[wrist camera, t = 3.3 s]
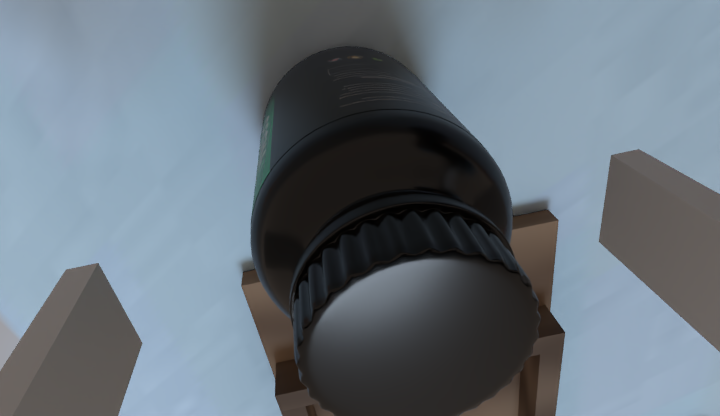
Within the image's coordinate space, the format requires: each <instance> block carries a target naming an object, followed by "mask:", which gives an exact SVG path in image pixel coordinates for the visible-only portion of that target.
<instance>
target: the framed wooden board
mask: <svg viewBox="0 0 720 416" xmlns="http://www.w3.org/2000/svg"><path fill="white" fill-rule="evenodd" d="M557 230H558V219H557V218H556V217H555V216H554V215H553V214H552V213H551V212H550V211H549V210H544V211H539V212H534V213H529V214H524V215H520V216H515V217H513V227H512V236H511V242H510V246H511V248H512V251H513V253H514V256H515V259H516V261H517V262H518V263H519V265H520V266H521V268H522V269H523V270H524V272H525V273H526V274H527V276H528V277H529V279H530V281H531V284H532V289H533V291H534V292H535V294H536V295H537V298H538V301H539V305H538V312H539V314H540V317H541V321H540V324H539V326H538V328H537V330H538V333H539V337H538V339H537V340H536V342H535V343H534V345H533V354H532V355H531V356H530V357H529V358H528V359H527V360H526V361H525V363H524V367H523V369H522V370H521V371H520V372H519V373H518V374H516V375H515V376H514V377H513V379H512V381H511V383H510V384H509V385H507V386H506V387H504V388H502V389H501V390H499V392H498V393H497V394H496V395H495V396H494V397H493V398H491V399H489V400H486V401H484V402H483V403H481V404H480V405H479V406H478V407H477V408H475V409H472V410H469V411H466V412H464V413H462V414H461V415H459V416H555V413H556V405H557V396H558V388H559V380H560V371H561V363H562V354H563V346H564V337H565V332H564V330H563V329H562V328H561V326H560V325H559V323H558V322H557V321H556V319H555V318H554V316H553V315H552V314H551V312H550V307H551V296H552V285H553V274H554V263H555V252H556V241H557ZM241 286H242V289H243V292H244V294H245V297H246V300H247V303H248V305H249V308H250V311H251V314H252V316H253V319H254V322H255V324H256V327H257V330H258V333H259V335H260V338H261V341H262V344H263V346H264V349H265V352H266V355H267V357H268V360H269V363H270V366H271V368H272V371H273V374H274V376H275V397H276V399H277V402H278V405H279V407H280V410H281V413H282V415H283V416H334V415H333V413H332V412H329V411H326V410H324V409H321V407H320V405H319V402H318V401H316V400H314V399H313V398H311V397H310V396H309V394H308V390H307V387H306V386H305V385H303V384H302V383H301V381H300V378H299V372H298V367H297V365H296V363H295V359H294V334H293V327H292V323H291V319H289V318H288V317H287V316H286V315H285V314H284V313H283V312H282V311H281V310H280V309H279V308H278V307H277V306H276V305H275V303H274V302H273V301H272V300H271V298H270V297H269V295H268V294H267V292H266V291H265V289H264V288H263V286H262V284H261V282H260V280H259V278H258V275H257V272H256V270H252V271H247V272H243V277H242V285H241Z"/></svg>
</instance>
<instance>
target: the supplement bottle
mask: <svg viewBox="0 0 720 416" xmlns="http://www.w3.org/2000/svg"><path fill="white" fill-rule="evenodd" d="M512 227H513V212H512V202H511V197H510V193H509V189H508V187H507V184H506V181H505V178H504V176H503V174H502V172H501V170H500V168H499V167H498V165H497V164H496V162H495V161H494V159H493V158H492V156H491V155H490V154H489V152H488V151H487V150H486V149H485V148H484V147H483V145H482V144H481V143H480V142H479V141H478V140H477V139H476V138H475V137H474V136H473V135H472V134H471V133H470V131H469V130H468V129H467V128H466V127H465V126H464V125H463V124H462V123H461V122H460V121H459V120H458V119H457V118H456V117H455V116H454V115H453V114H452V113H451V112H450V111H449V110H448V109H447V108H446V107H445V106H444V105H443V104H442V103H441V102H440V101H439V100H438V98H437V97H436V96H435V95H434V94H433V93H432V92H431V91H430V90H429V89H428V88H427V87H426V86H425V85H424V84H423V83H422V82H421V81H420V80H419V79H418V78H417V77H416V76H415V75H414V74H413V73H412V72H411V71H409V70H408V69H407V68H406V67H405V66H404V65H403V64H401V63H400V62H399V61H397V60H395V59H394V58H392V57H390V56H388V55H386V54H384V53H382V52H379V51H376V50H373V49H368V48H363V47H337V48H332V49H328V50H324V51H321V52H318V53H316V54H314V55H311V56H310V57H308V58H306V59H304V60H303V61H301V62H300V63H298V64H297V65H295V66H294V67H293V68H292V69H291V70H290V71H289V72H288V73H287V74H286V75H285V76H284V77H283V78H282V79H281V81H280V82H279V83H278V85H277V86H276V88H275V89H274V91H273V93H272V95H271V97H270V99H269V102H268V104H267V107H266V111H265V115H264V119H263V125H262V132H261V140H260V149H259V157H258V166H257V174H256V183H255V191H254V200H253V209H252V217H251V251H252V258H253V262H254V266H255V269H256V272H257V275H258V278H259V280H260V282H261V284H262V286H263V288H264V289H265V291H266V292H267V294H268V295H269V297H270V298H271V300H272V301H273V302H274V303H275V305H276V306H277V307H278V308H279V309H280V310H281V311H282V312H283V313H284V314H285V315H286V316H287V317H288V318H289V319H291V323H292V327H293V334H294V359H295V363H296V365H297V367H298V372H299V378H300V381H301V383H302V384H303V385H305V386H306V387H307V390H308V394H309V396H310V397H311V398H313V399H314V400H316V401H318V402H319V405H320V407H321V409H324V410H326V411H329V412H332V413H333V415H334V416H459V415H461V414H462V413H464V412H466V411H469V410H472V409H475V408H477V407H478V406H479V405H480V404H481V403H483V402H484V401H486V400H489V399H491V398H493V397H494V396H495V395H496V394H497V393H498V392H499V390H501V389H502V388H504V387H506V386H507V385H509V384H510V383H511V381H512V379H513V377H514V376H515V375H516V374H518V373H519V372H520V371H521V370H522V369H523V367H524V363H525V361H526V360H527V359H528V358H529V357H530V356H531V355H532V354H533V345H534V343H535V342H536V340H537V339H538V337H539V333H538V330H537V328H538V326H539V324H540V321H541V317H540V314H539V312H538V305H539V301H538V298H537V295H536V294H535V292H534V291H533V289H532V284H531V281H530V279H529V277H528V276H527V274H526V273H525V272H524V270H523V269H522V268H521V266H520V265H519V263H518V262H517V261H516V259H515V256H514V253H513V251H512V248H511V246H510V242H511V236H512Z"/></svg>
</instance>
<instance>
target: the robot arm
mask: <svg viewBox="0 0 720 416" xmlns="http://www.w3.org/2000/svg"><path fill="white" fill-rule="evenodd" d="M599 242H600V243H601V244H602V245H603V246H604V247H605V248H606V249H607V250H609V251H610V252H611V253H612V254H613V255H614V256H615V257H616V258H617V259H618V260H620V261H621V262H622V263H623V264H624V265H625V266H626V267H627V268H628V269H629V270H630V271H632V272H633V273H634V274H635V275H636V276H637V277H638V278H639V279H640V280H641V281H643V282H644V283H645V284H646V285H647V286H648V287H649V288H650V289H651V290H652V291H654V292H655V293H656V294H657V295H658V296H659V297H660V298H661V299H662V300H663V301H664V302H666V303H667V304H668V305H669V306H670V307H671V308H672V309H673V310H674V311H675V312H677V313H678V314H679V315H680V316H681V317H682V318H683V319H684V320H685V321H686V322H687V323H689V324H690V325H691V326H692V327H693V328H694V329H695V330H696V331H697V332H698V333H700V334H701V335H702V336H703V337H704V338H705V339H706V340H707V341H708V342H709V343H711V344H712V345H713V346H714V347H715V348H716V349H717V350H718V351H719V352H720V194H718V193H717V192H715V191H713V190H711V189H709V188H708V187H706V186H704V185H702V184H700V183H699V182H697V181H695V180H693V179H691V178H690V177H688V176H686V175H684V174H682V173H681V172H679V171H677V170H675V169H673V168H672V167H670V166H668V165H666V164H664V163H663V162H661V161H659V160H657V159H656V158H654V157H652V156H650V155H648V154H647V153H645V152H643V151H641V150H639V149H638V150H633V151H628V152H624V153H619V154H614V155H611V160H610V167H609V174H608V181H607V188H606V195H605V202H604V209H603V216H602V223H601V230H600V237H599ZM141 346H142V342H141V340H140V338H139V336H138V334H137V333H136V331H135V329H134V327H133V325H132V323H131V322H130V320H129V318H128V316H127V314H126V313H125V311H124V309H123V307H122V305H121V303H120V302H119V300H118V298H117V296H116V294H115V293H114V291H113V289H112V287H111V285H110V283H109V282H108V280H107V278H106V276H105V274H104V273H103V271H102V269H101V267H100V265H99V263H96V264H91V265H86V266H82V267H77V268H72V269H67V270H66V271H65V272H64V274H63V275H62V277H61V278H60V280H59V281H58V283H57V284H56V286H55V287H54V289H53V291H52V292H51V294H50V295H49V297H48V298H47V300H46V301H45V303H44V304H43V306H42V307H41V309H40V311H39V312H38V314H37V315H36V317H35V318H34V320H33V321H32V323H31V324H30V326H29V328H28V329H27V331H26V332H25V334H24V335H23V337H22V338H21V340H20V341H19V343H18V344H17V346H16V348H15V349H14V351H13V352H12V354H11V356H10V357H9V358H8V360H7V361H6V363H5V364H4V366H3V368H2V369H1V371H0V416H118V414H119V411H120V408H121V405H122V402H123V399H124V396H125V393H126V390H127V387H128V384H129V381H130V378H131V375H132V372H133V369H134V366H135V363H136V360H137V357H138V354H139V351H140V348H141Z"/></svg>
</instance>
